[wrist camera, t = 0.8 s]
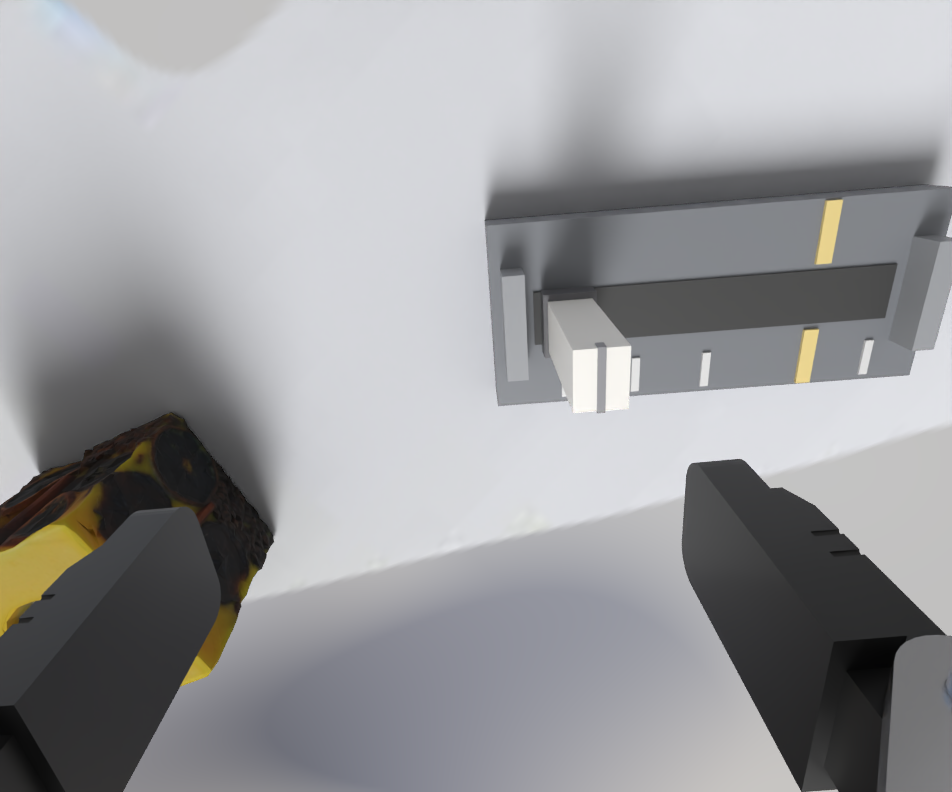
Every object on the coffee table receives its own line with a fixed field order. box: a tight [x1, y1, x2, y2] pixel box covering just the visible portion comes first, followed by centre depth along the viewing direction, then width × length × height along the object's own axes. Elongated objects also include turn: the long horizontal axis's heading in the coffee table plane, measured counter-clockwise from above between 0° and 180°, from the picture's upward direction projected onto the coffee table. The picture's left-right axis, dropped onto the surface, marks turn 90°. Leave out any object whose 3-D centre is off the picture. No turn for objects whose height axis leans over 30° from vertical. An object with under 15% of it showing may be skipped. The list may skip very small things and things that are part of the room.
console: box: [485, 185, 952, 406], centre depth 27 cm, size 9×21×4 cm, turn 94°
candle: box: [0, 413, 274, 686], centre depth 29 cm, size 10×10×10 cm
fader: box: [540, 286, 631, 413], centre depth 23 cm, size 3×2×8 cm
